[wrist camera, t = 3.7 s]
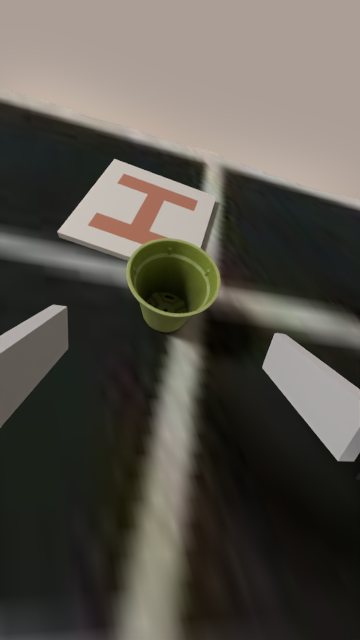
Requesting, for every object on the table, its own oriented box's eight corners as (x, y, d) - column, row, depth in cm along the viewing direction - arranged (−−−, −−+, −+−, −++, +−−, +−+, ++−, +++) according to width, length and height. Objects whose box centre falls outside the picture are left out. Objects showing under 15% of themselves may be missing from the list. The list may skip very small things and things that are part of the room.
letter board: (214, 201, 39) (216, 196, 38) (189, 282, 30) (191, 278, 29) (115, 164, 38) (114, 158, 37) (59, 237, 29) (57, 231, 28)
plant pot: (140, 275, 29) (141, 227, 21) (202, 292, 30) (224, 251, 22) (120, 334, 25) (112, 301, 17) (192, 351, 26) (215, 327, 18)
